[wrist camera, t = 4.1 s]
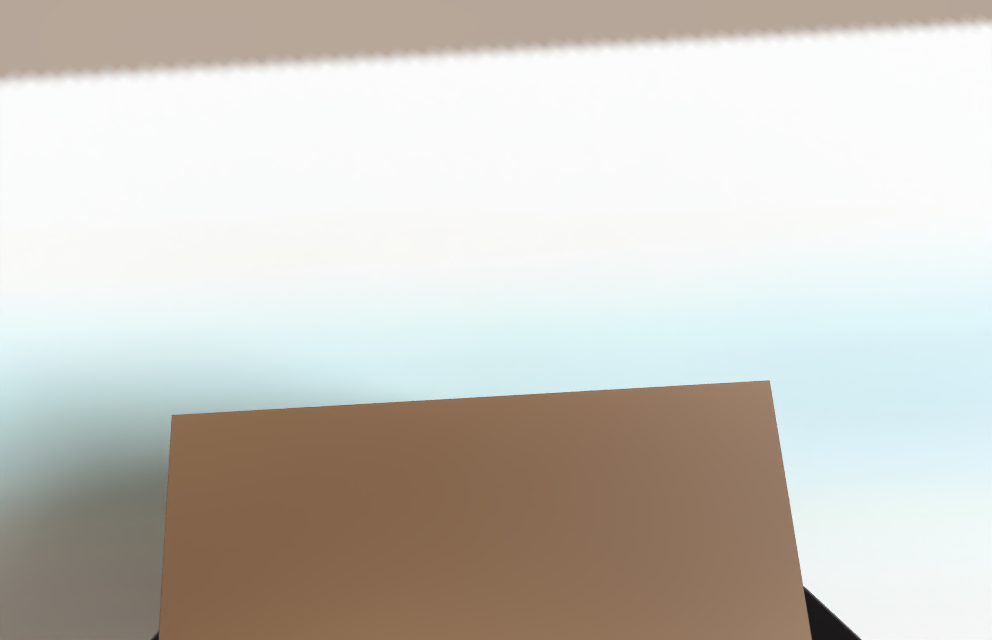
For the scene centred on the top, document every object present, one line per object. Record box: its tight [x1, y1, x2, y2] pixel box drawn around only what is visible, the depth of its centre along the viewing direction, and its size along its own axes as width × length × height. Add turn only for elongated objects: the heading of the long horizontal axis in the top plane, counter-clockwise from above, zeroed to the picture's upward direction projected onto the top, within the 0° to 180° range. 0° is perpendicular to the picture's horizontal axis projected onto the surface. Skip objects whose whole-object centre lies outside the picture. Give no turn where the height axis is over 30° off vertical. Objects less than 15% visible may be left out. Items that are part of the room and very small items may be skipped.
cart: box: [159, 381, 812, 640], centre depth 10 cm, size 5×6×11 cm
